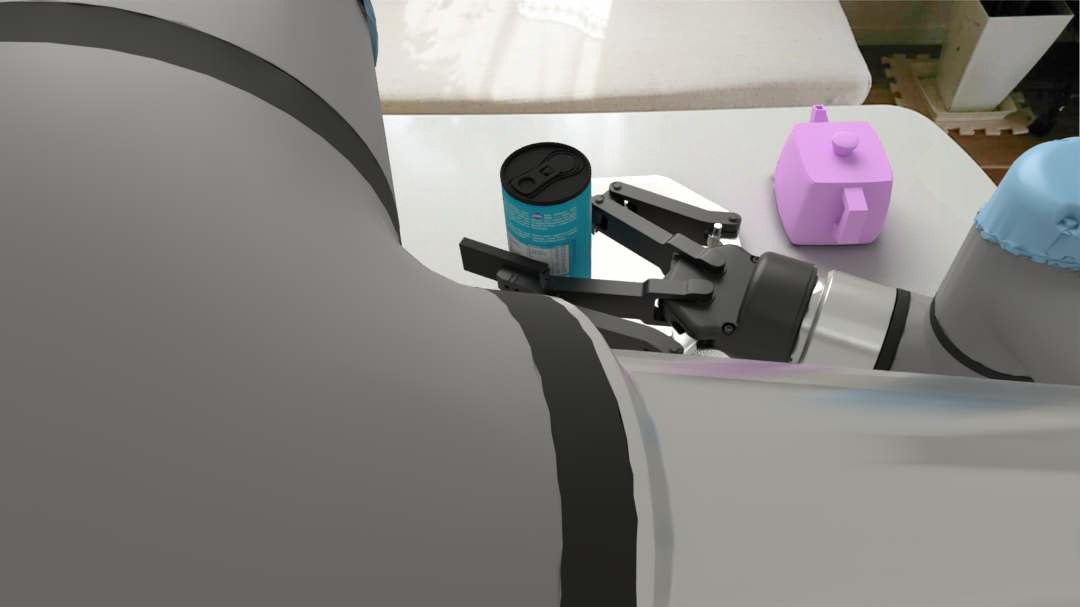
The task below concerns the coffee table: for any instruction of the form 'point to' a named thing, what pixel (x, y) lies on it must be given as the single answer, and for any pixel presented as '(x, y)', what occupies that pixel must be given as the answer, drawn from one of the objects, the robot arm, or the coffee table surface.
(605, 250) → the plate
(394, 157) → the coffee table surface
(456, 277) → the coffee table surface
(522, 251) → the beverage can
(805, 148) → the teapot
